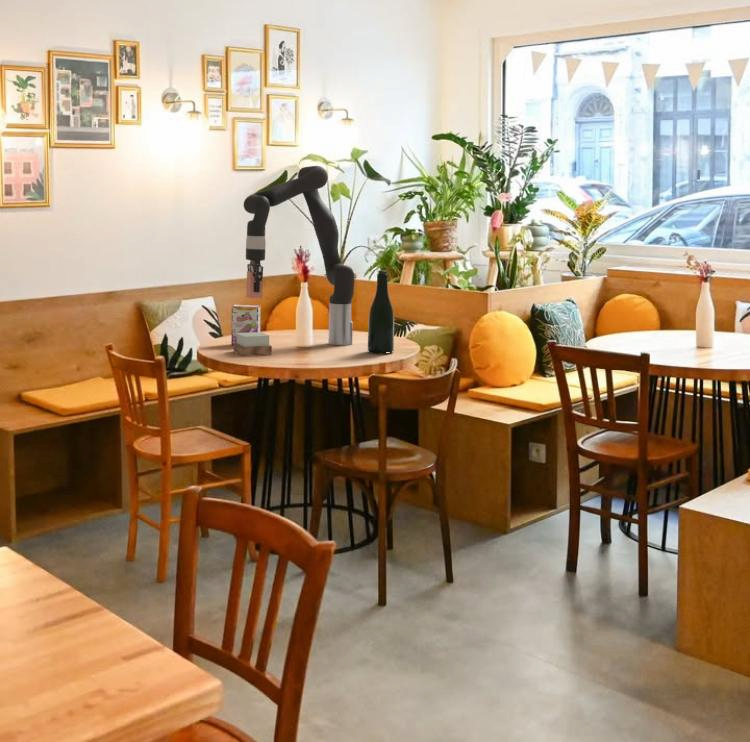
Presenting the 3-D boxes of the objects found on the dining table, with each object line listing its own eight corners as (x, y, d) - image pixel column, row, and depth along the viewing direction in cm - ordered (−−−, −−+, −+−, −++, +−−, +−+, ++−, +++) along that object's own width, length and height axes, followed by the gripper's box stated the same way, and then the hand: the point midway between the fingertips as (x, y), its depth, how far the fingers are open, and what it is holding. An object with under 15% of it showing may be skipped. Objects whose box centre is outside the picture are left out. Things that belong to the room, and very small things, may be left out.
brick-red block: (258, 296, 423) (259, 271, 421) (262, 298, 418) (263, 272, 417) (246, 296, 421) (246, 271, 419) (249, 298, 416) (250, 272, 415)
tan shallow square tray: (262, 351, 430) (262, 341, 430) (271, 356, 419) (271, 346, 419) (233, 352, 426) (233, 342, 425) (241, 357, 415) (242, 347, 414)
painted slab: (260, 342, 428) (260, 332, 428) (269, 345, 420) (269, 335, 419) (236, 343, 424) (236, 333, 423) (244, 346, 415) (244, 336, 415)
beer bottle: (376, 355, 425) (379, 271, 419) (362, 351, 434) (364, 269, 428) (398, 353, 431) (401, 271, 425) (384, 349, 439) (386, 268, 434)
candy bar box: (231, 345, 440) (231, 305, 437) (233, 343, 445) (233, 304, 442) (257, 346, 439) (258, 306, 436) (260, 344, 444) (260, 305, 441)
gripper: (270, 249, 411) (269, 293, 414) (259, 246, 424) (258, 289, 427) (251, 248, 408) (250, 293, 411) (241, 246, 421) (240, 289, 424)
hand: (254, 291), depth 419 cm, fingers closed on brick-red block, 5 cm apart
